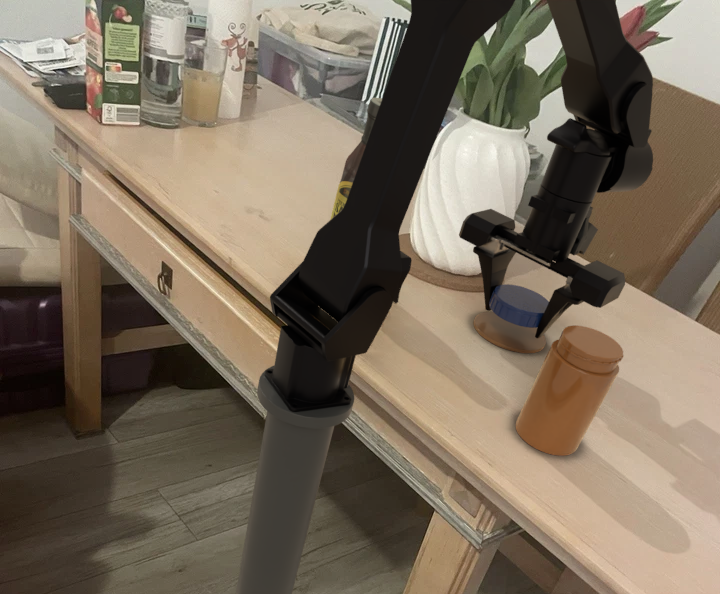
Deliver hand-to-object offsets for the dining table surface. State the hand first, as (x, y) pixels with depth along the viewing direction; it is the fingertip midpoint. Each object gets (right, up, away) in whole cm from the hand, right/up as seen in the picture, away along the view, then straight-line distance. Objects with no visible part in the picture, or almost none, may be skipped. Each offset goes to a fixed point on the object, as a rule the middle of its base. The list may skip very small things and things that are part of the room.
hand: (513, 323), depth 83 cm
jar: (0, -14, -15) cm, 21 cm away
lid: (+1, +2, -2) cm, 3 cm away
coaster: (0, -1, +1) cm, 1 cm away
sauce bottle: (-20, +6, +2) cm, 21 cm away
